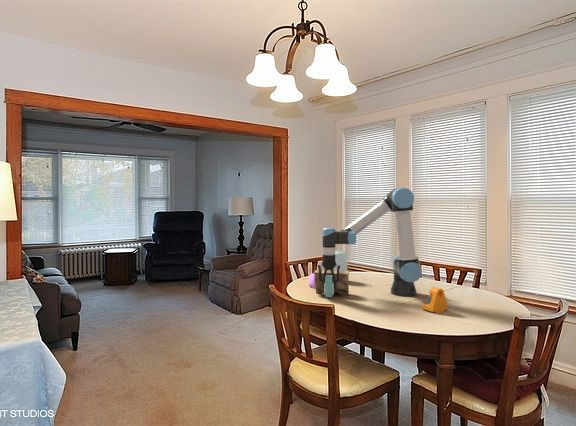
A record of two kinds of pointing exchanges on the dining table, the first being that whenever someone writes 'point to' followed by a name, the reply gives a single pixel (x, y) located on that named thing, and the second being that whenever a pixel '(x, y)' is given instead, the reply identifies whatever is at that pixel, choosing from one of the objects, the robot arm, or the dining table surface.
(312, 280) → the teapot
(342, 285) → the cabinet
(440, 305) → the bracket
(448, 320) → the dining table surface
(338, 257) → the vase
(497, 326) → the dining table surface
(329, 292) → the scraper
